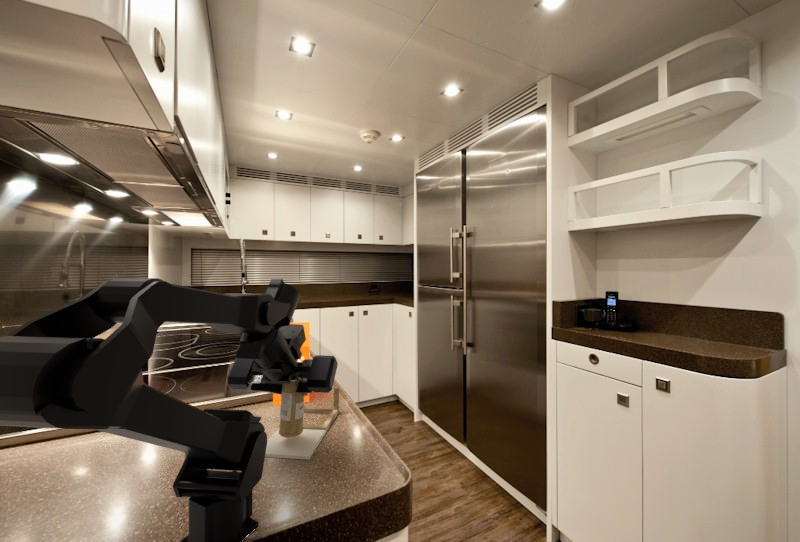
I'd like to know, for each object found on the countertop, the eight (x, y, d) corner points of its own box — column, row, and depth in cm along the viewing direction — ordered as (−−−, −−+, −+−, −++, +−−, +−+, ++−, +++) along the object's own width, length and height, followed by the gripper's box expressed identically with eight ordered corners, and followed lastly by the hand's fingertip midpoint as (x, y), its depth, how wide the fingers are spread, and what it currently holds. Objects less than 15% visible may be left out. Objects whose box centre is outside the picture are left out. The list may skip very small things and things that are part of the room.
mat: (309, 459, 58) (309, 456, 58) (255, 456, 59) (255, 453, 59) (326, 431, 68) (326, 429, 68) (280, 429, 69) (280, 426, 69)
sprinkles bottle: (305, 435, 63) (310, 365, 63) (281, 441, 60) (286, 368, 60) (298, 425, 66) (303, 359, 66) (275, 430, 64) (280, 361, 64)
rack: (325, 432, 68) (325, 404, 68) (279, 430, 68) (279, 402, 68) (338, 412, 78) (339, 387, 78) (298, 410, 78) (298, 385, 78)
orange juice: (276, 394, 88) (276, 321, 88) (310, 391, 91) (310, 320, 91) (272, 406, 81) (273, 325, 81) (309, 402, 83) (309, 324, 83)
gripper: (335, 312, 59) (349, 358, 70) (237, 310, 60) (265, 355, 71) (320, 368, 51) (339, 410, 62) (207, 364, 52) (245, 406, 63)
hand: (296, 393), depth 65 cm, fingers closed on sprinkles bottle, 4 cm apart
